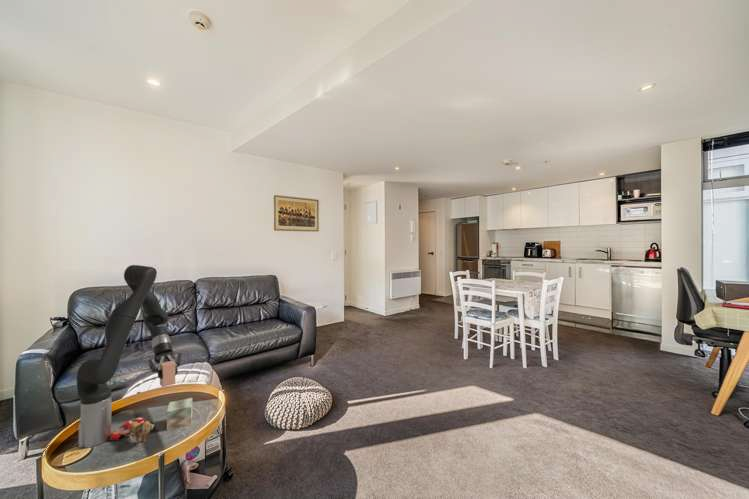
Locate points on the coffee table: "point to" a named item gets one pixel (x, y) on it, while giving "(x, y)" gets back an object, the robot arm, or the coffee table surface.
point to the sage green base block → (179, 413)
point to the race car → (124, 429)
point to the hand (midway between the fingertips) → (168, 376)
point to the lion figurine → (139, 431)
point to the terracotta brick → (168, 373)
